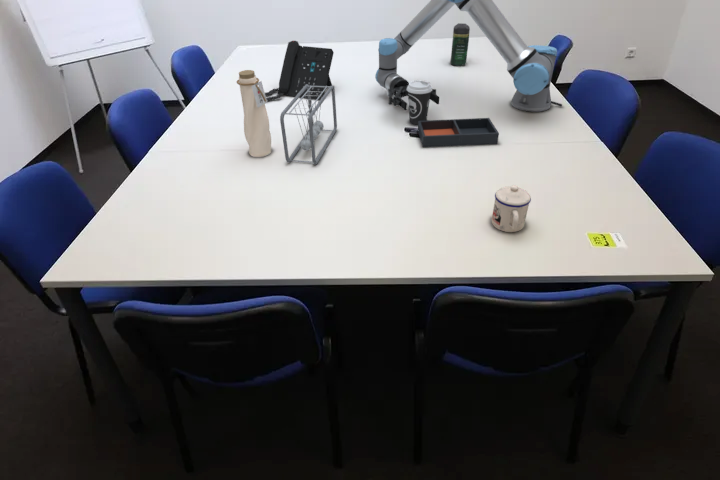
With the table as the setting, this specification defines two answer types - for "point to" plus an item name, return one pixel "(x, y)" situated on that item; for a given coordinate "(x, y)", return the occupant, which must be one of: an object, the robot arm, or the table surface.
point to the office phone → (304, 71)
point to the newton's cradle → (313, 127)
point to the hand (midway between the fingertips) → (422, 103)
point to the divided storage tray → (457, 132)
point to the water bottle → (255, 114)
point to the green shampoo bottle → (460, 44)
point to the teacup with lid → (510, 208)
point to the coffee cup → (418, 100)
